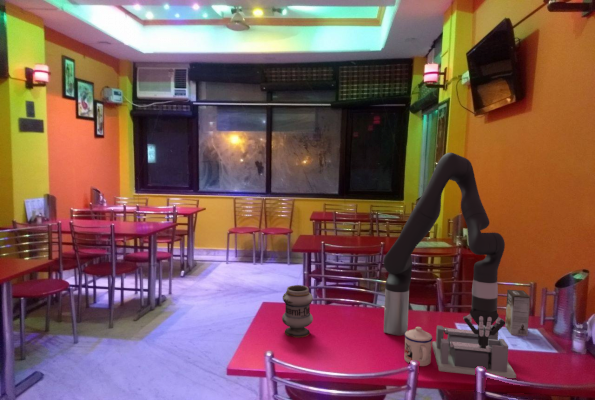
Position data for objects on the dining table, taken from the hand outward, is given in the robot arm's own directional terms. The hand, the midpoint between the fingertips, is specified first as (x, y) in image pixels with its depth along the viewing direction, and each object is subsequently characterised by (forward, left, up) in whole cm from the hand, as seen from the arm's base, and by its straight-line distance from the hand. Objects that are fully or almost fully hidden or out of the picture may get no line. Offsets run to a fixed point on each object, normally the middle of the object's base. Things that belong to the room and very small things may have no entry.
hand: (482, 346), depth 136 cm
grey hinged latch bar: (-3, +12, -2) cm, 13 cm away
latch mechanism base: (-2, +6, -8) cm, 10 cm away
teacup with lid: (-20, +1, -8) cm, 21 cm away
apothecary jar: (-65, +16, -8) cm, 67 cm away
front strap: (-3, 0, -2) cm, 3 cm away
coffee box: (+21, +39, -8) cm, 45 cm away
